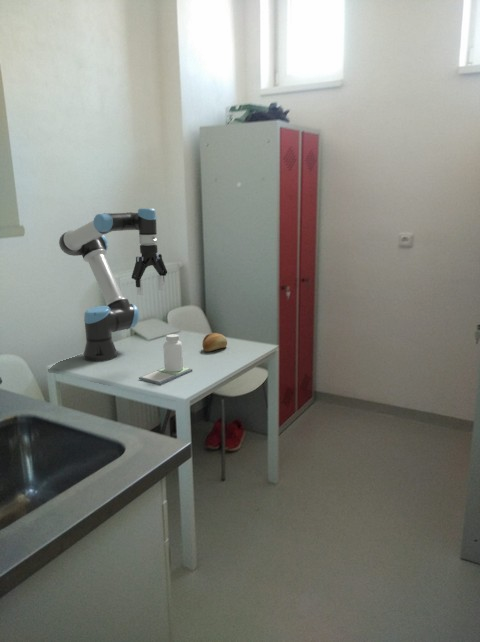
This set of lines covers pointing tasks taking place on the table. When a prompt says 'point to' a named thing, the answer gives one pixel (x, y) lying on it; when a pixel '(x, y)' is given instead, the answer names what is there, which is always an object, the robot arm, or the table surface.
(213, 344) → the bread roll
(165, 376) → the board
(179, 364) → the pill bottle
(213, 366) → the table surface
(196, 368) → the table surface
